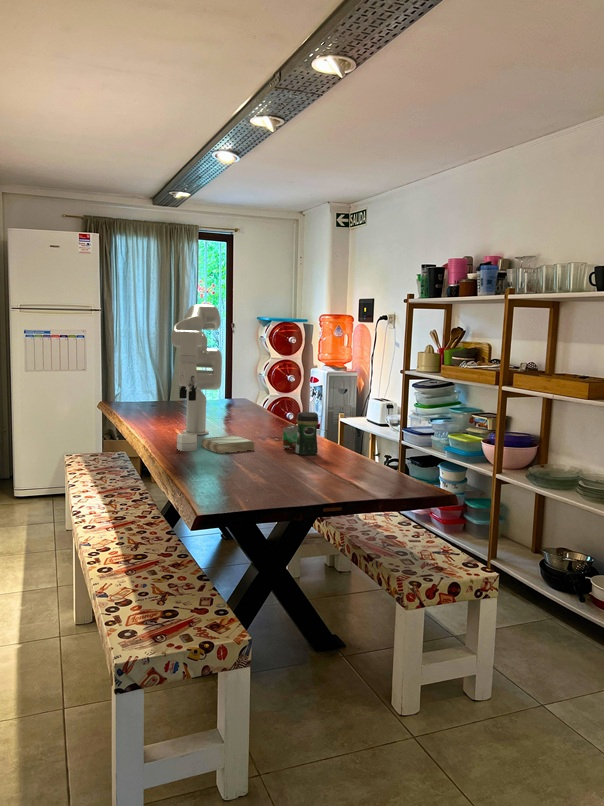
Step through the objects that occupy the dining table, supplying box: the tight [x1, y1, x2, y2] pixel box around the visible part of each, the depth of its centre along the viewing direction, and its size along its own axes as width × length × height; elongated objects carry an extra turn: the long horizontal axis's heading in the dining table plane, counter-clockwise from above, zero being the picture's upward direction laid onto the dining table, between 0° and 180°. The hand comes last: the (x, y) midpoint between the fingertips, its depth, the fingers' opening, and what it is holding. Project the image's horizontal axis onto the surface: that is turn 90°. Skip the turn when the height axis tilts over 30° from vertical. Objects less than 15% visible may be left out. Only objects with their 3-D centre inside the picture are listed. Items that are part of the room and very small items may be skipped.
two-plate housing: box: [176, 433, 198, 452], centre depth 285 cm, size 5×7×7 cm
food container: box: [282, 423, 298, 450], centre depth 300 cm, size 12×6×10 cm, turn 168°
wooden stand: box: [201, 435, 255, 454], centre depth 293 cm, size 16×18×4 cm
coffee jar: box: [294, 411, 319, 456], centre depth 287 cm, size 10×8×19 cm
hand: (187, 399), depth 283 cm, fingers open, 9 cm apart
